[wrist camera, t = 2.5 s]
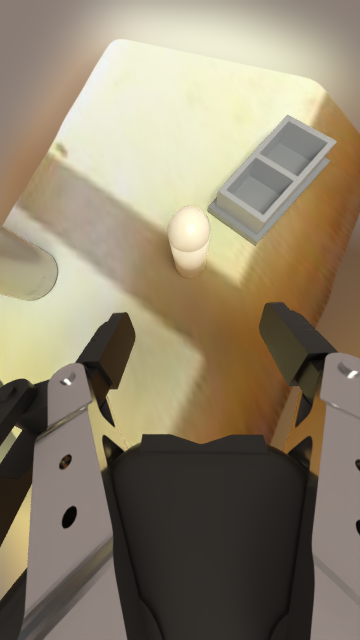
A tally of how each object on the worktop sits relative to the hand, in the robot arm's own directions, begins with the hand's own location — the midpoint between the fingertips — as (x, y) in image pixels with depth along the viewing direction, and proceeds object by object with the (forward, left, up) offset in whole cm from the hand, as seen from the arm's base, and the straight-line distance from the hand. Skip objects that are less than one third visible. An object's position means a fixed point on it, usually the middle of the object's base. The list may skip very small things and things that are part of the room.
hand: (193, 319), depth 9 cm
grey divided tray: (-7, +25, -14) cm, 29 cm away
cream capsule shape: (-8, +8, -14) cm, 18 cm away
